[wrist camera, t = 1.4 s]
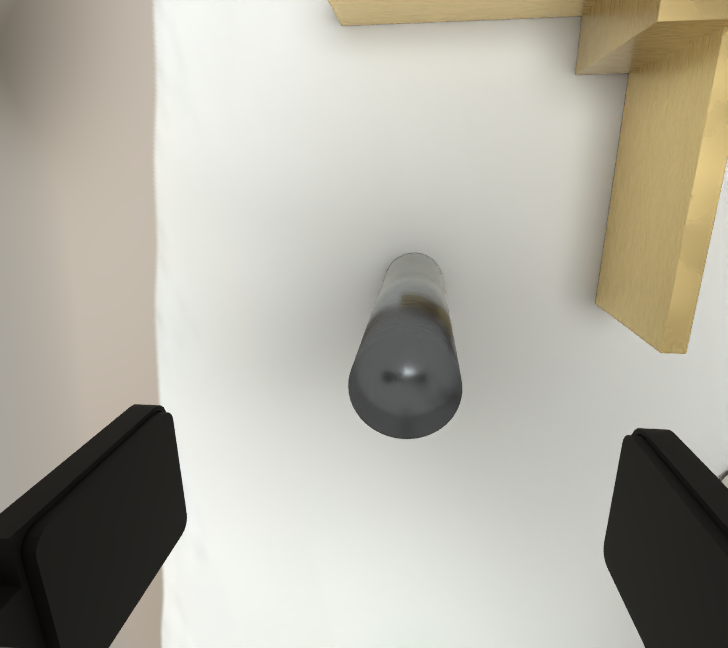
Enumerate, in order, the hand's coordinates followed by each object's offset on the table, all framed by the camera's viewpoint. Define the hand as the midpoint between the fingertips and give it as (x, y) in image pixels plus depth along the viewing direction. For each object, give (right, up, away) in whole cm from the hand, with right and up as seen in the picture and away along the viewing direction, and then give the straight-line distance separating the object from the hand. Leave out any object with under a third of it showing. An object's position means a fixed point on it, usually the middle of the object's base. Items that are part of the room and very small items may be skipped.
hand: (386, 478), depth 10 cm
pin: (+3, +6, +19) cm, 20 cm away
